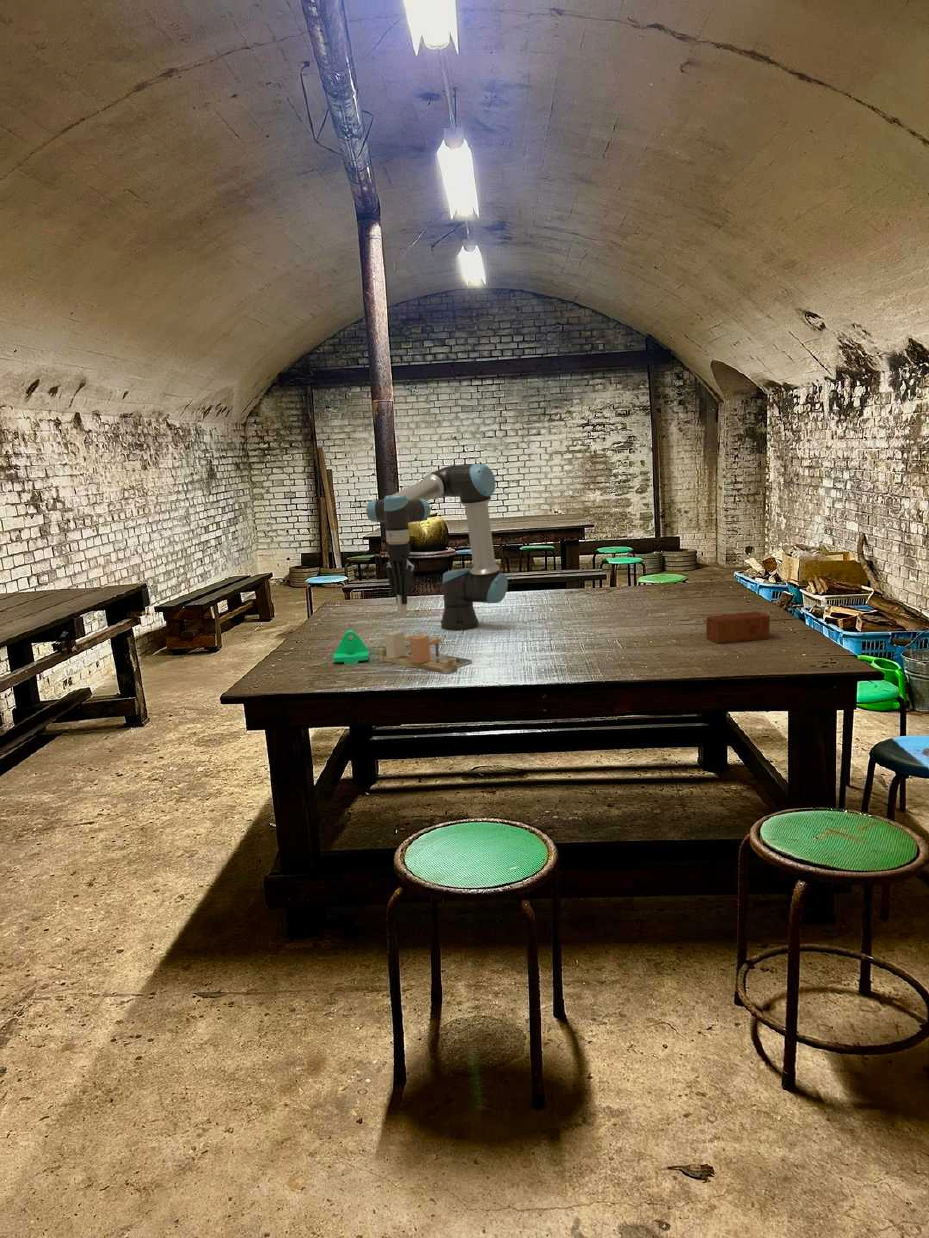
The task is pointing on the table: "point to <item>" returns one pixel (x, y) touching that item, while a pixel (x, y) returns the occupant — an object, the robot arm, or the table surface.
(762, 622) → the brick
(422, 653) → the slider leg
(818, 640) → the table surface
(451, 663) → the rail
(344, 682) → the table surface
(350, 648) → the camera mount
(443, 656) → the hole plate
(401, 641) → the fixed leg
